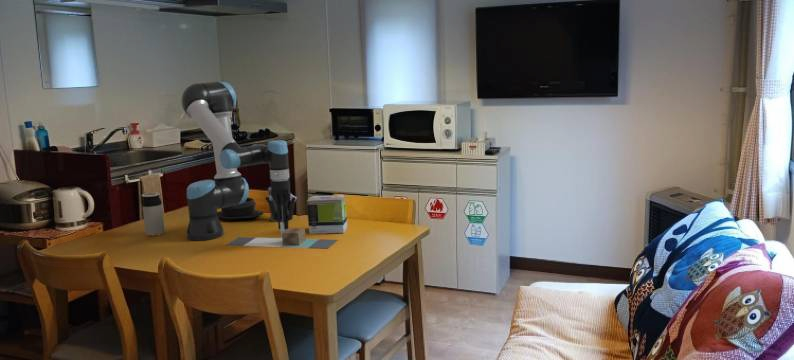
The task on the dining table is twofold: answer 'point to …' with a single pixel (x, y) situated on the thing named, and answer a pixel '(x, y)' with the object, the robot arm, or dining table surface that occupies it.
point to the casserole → (240, 211)
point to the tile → (265, 242)
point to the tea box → (327, 214)
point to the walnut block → (293, 236)
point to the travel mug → (153, 214)
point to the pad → (303, 244)
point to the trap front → (323, 244)
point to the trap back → (240, 241)
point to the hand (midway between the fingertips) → (284, 237)
